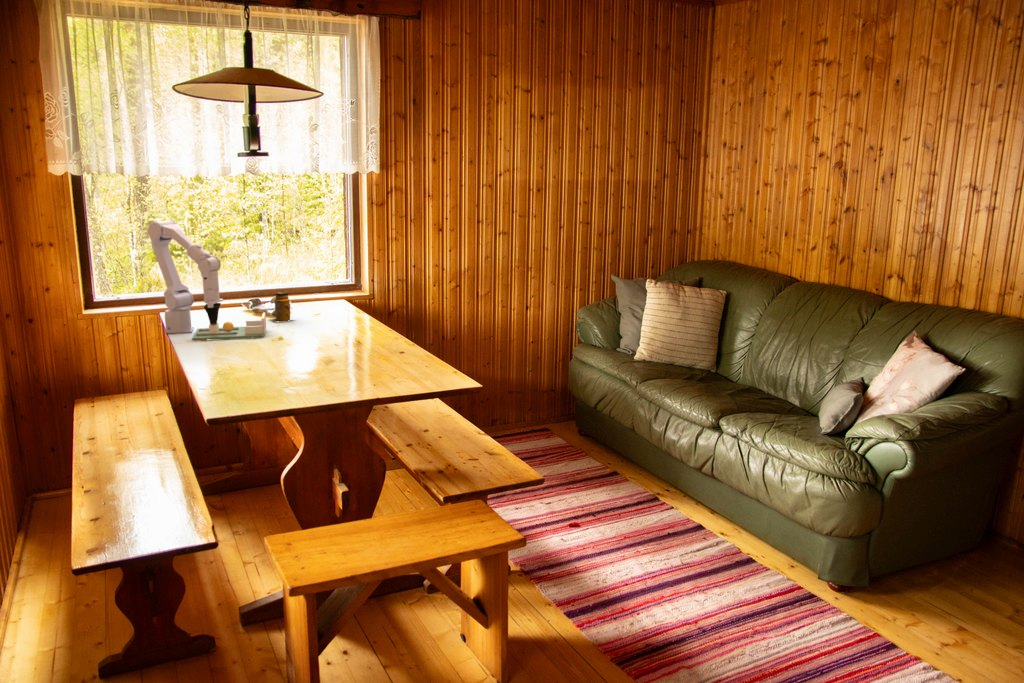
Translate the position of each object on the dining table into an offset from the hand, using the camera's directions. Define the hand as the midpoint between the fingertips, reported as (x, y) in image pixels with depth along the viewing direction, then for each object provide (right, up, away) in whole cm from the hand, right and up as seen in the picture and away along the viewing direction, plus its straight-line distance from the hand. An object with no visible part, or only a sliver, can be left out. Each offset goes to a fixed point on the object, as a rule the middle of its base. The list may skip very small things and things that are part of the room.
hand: (213, 322), depth 319 cm
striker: (0, -4, +1) cm, 4 cm away
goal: (+15, -3, +5) cm, 16 cm away
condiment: (+18, +1, +30) cm, 35 cm away
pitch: (+6, -5, +3) cm, 8 cm away
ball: (+5, -2, +2) cm, 6 cm away
